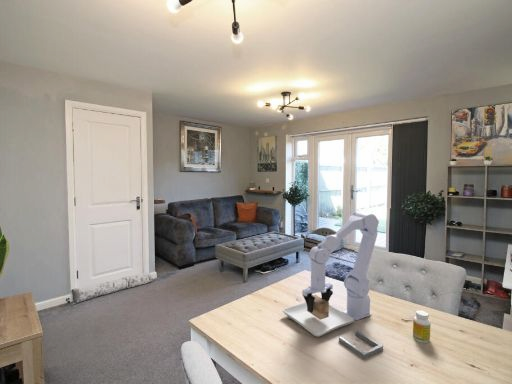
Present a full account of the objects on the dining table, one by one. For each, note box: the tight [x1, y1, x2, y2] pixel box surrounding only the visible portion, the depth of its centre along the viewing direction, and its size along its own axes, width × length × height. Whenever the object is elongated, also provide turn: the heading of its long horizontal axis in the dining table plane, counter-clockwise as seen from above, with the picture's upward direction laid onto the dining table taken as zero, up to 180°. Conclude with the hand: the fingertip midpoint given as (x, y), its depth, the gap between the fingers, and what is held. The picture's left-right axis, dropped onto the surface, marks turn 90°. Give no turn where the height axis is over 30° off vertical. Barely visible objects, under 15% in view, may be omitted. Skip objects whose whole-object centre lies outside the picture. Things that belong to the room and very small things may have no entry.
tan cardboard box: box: [307, 294, 330, 320], centre depth 113 cm, size 4×8×6 cm, turn 28°
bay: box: [338, 329, 384, 360], centre depth 97 cm, size 10×11×2 cm
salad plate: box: [282, 301, 355, 338], centre depth 113 cm, size 21×21×3 cm
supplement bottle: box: [412, 309, 432, 343], centre depth 101 cm, size 5×5×10 cm
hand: (317, 309), depth 113 cm, fingers open, 7 cm apart
